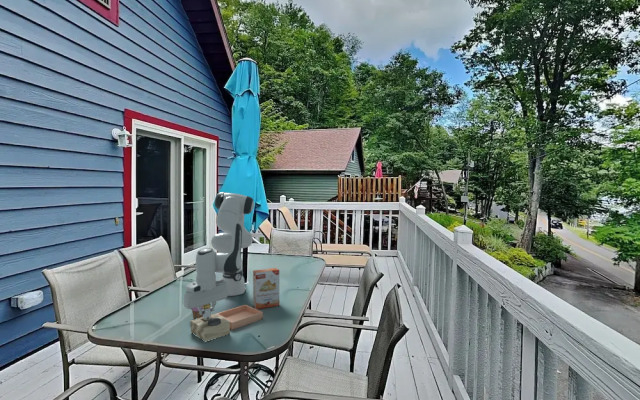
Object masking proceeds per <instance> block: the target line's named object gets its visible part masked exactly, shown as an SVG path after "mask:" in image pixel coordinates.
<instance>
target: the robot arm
mask: <svg viewBox="0 0 640 400" xmlns="http://www.w3.org/2000/svg"><path fill="white" fill-rule="evenodd" d="M214 206H215V209H217V210H218V212H217V216H216V219H215V223H216V226H217V227H218V228H219V230H220V231H222V232H219V233H216V234H214V235H213V236H212V237H211V243H210V244H211V247H205V248H200V249H199V250H198V251H197V252H196V256H195V271H196V275H195V280H194V281H192V282H190V283H189V284H186V285H185V290H186V291H185V293H184V295H183V306H184V308H186V309H188V310H191V308H195V307H197V308H198V310H199V314H200V315H202V314H204V310H201V308H202V305H205V304H209V303H210V304H211V313H212V312H214V311H215V308H216V305H217V302H219V301H222V300H226V299H227V298H228V297H230V296H231V297H234V296H239V295H242V294H244V293H246V291H247V287H246V286H245V285H246V283H245V277H244V275H243V274H244V272H243V262H242V261H243V260H242V249H245V248H249V247H250V246H251V245H252V243H253V241H254V240H253V236H252V234H251V232H249V231H248V230H247V229H246V227H245V216H246V215H249V214H251V213H252V211H253V210H254V207H255V202H254V198H253V197H251V196H248V195H244V194H240V193H234V192H225V191H221V192H218V193H217V194H216V196H215V198H214ZM216 273H222V277H220V278H219V279H218V280H217V276H216Z"/></svg>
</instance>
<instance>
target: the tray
mask: <svg viewBox="0 0 640 400" xmlns="http://www.w3.org/2000/svg"><path fill="white" fill-rule="evenodd" d="M215 314H217V315H219V316H221V317H222V318H224V319H226V320H228V321H230V331H231V330H232V331H234V330H236V329H239V328H241V327H245V326H248V325H249V324H252V323H255V322H258V321H260V320H264V312H263V311H261V310H260V309H255V308H254V306H253V307H252V306H250V305H247V304H242V305H239V306H237V307H236V306H235V307H233V308H229V309H226V310H223V311H220V312H216V313H215ZM233 329H234V330H233Z"/></svg>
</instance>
